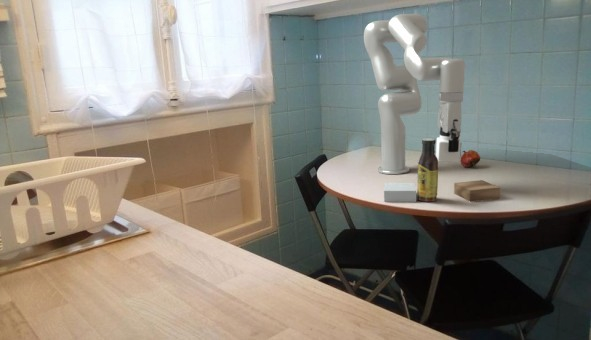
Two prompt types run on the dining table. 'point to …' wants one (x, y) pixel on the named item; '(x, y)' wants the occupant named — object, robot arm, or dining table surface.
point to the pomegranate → (470, 158)
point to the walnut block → (476, 190)
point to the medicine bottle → (446, 148)
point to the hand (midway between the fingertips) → (448, 148)
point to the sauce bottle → (427, 172)
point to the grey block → (399, 192)
